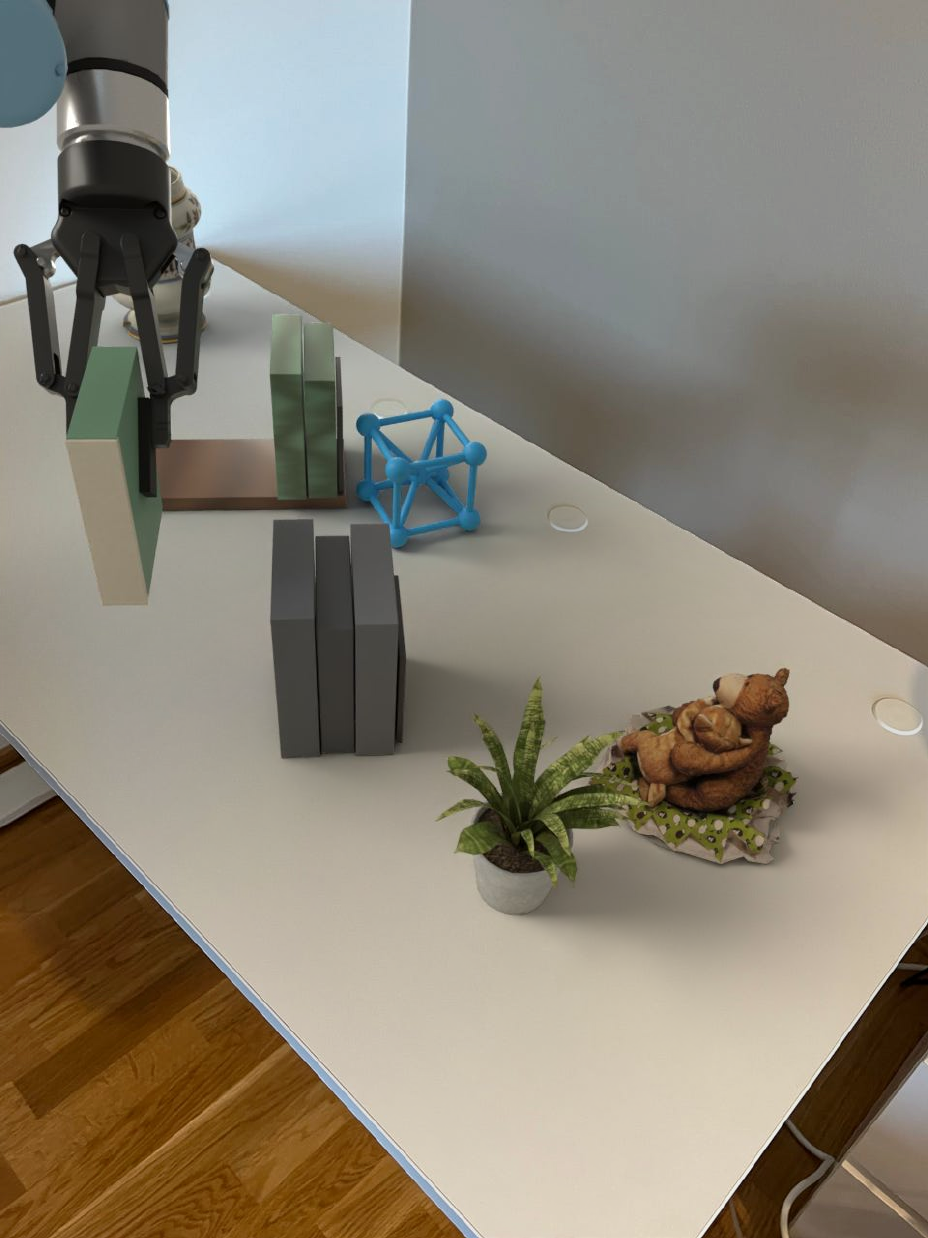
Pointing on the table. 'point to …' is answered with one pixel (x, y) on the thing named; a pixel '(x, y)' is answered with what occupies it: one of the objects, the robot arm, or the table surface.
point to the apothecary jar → (170, 283)
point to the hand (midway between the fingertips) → (120, 494)
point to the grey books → (336, 640)
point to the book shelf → (272, 468)
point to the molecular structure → (419, 471)
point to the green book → (113, 476)
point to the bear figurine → (708, 770)
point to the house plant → (531, 812)
